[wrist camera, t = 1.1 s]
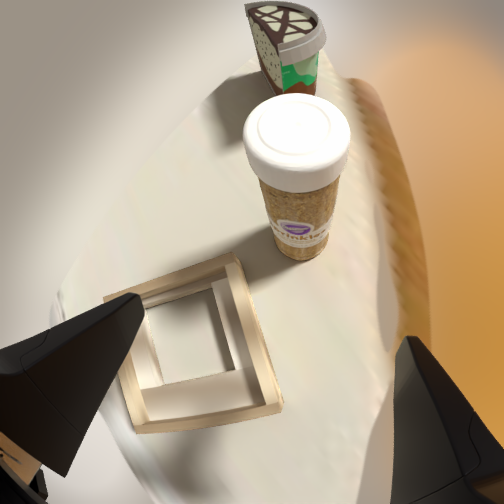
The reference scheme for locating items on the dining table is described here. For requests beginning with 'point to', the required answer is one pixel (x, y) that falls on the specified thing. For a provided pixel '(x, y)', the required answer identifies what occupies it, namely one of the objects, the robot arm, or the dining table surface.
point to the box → (209, 387)
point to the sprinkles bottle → (298, 167)
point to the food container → (287, 44)
